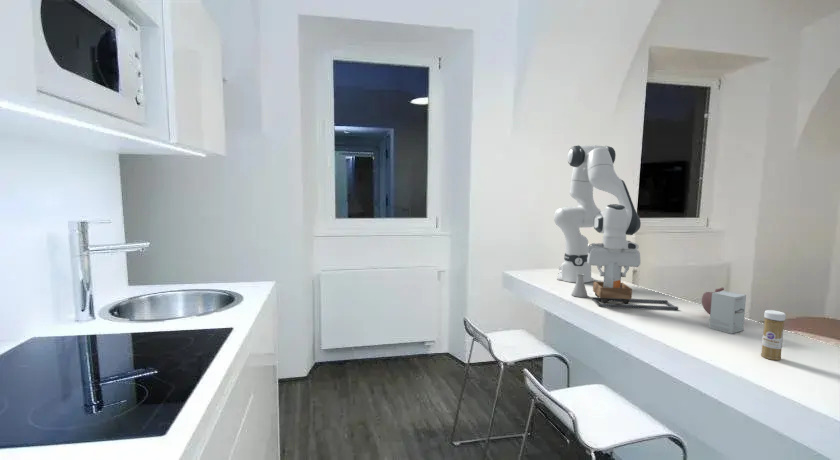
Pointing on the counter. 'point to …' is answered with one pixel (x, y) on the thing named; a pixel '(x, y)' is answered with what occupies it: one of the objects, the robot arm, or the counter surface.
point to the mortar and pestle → (708, 300)
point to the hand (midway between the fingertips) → (612, 276)
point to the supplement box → (727, 311)
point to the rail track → (669, 307)
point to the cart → (612, 292)
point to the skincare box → (612, 275)
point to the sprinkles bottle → (773, 334)
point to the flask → (579, 287)
